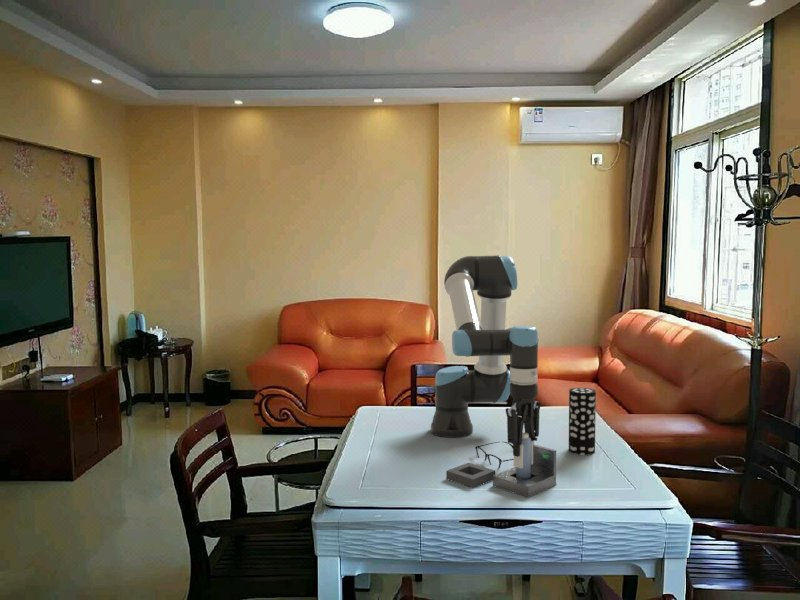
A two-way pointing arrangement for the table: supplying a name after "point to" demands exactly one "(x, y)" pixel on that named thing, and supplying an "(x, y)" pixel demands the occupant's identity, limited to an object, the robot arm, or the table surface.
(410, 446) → the table surface
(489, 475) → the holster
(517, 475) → the plug
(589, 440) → the white-spotted black cylinder
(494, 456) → the eyeglasses
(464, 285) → the robot arm
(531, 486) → the port
